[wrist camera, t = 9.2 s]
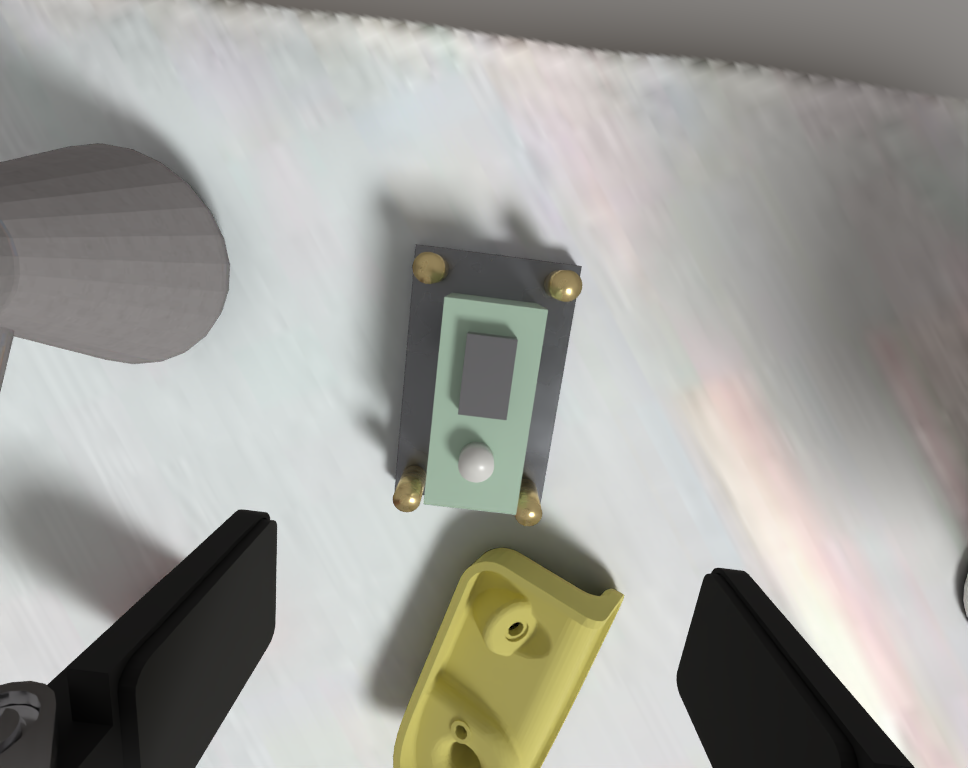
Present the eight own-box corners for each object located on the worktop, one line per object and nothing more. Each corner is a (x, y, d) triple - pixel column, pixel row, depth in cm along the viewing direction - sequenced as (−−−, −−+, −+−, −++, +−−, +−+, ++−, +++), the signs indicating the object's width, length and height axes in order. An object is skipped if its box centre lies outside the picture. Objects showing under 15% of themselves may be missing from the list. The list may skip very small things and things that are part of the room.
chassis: (577, 266, 27) (593, 265, 23) (537, 499, 31) (545, 534, 27) (419, 245, 27) (406, 240, 23) (398, 483, 30) (384, 515, 26)
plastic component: (472, 546, 29) (619, 638, 25) (510, 516, 36) (630, 584, 32) (374, 785, 32) (493, 896, 28) (426, 714, 39) (527, 798, 35)
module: (536, 303, 26) (551, 311, 20) (511, 474, 29) (517, 525, 23) (452, 292, 26) (442, 298, 20) (434, 465, 29) (420, 513, 23)
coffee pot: (43, 153, 26) (-543, -5, 11) (244, 161, 26) (-76, 14, 11) (105, 492, 31) (-239, 690, 16) (272, 498, 31) (79, 701, 16)
